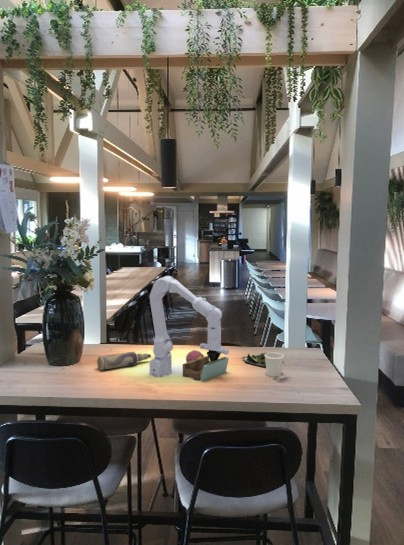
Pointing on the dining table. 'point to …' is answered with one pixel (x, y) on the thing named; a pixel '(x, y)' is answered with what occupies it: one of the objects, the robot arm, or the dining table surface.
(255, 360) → the salad plate
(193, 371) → the cart bed
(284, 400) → the dining table surface
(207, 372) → the panel
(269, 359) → the dixie cup
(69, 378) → the dining table surface
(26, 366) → the dining table surface
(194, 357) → the cupcake
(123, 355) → the decorative bottle
